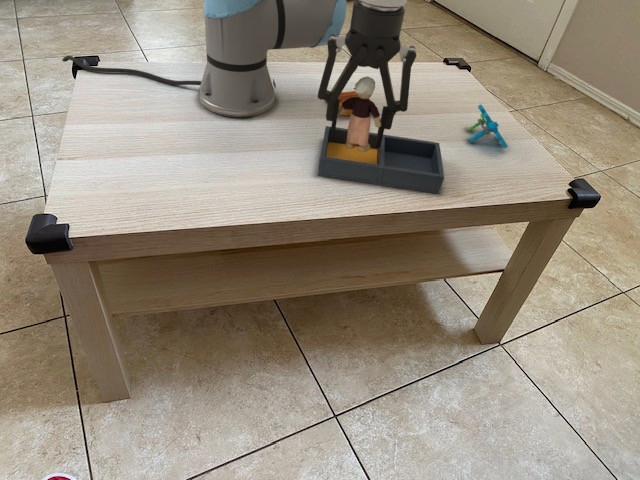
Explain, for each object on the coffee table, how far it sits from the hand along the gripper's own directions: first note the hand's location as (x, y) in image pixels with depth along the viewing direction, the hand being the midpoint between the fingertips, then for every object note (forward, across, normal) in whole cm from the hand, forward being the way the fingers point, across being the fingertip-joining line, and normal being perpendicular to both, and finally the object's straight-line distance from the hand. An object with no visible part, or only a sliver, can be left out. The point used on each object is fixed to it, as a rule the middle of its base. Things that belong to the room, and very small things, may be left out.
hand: (355, 140), depth 85 cm
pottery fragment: (+5, +1, -21) cm, 22 cm away
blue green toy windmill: (+5, -27, -15) cm, 31 cm away
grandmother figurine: (+1, 0, 0) cm, 1 cm away
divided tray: (+5, -5, 0) cm, 7 cm away
